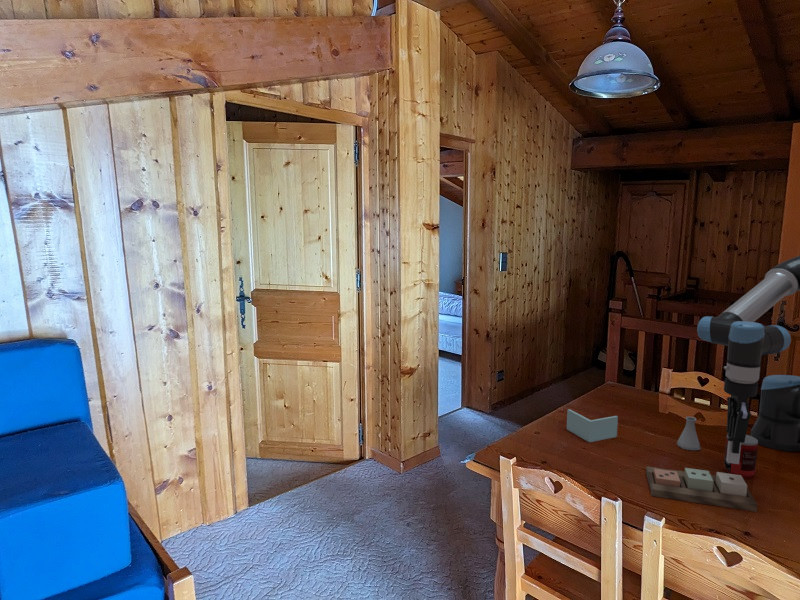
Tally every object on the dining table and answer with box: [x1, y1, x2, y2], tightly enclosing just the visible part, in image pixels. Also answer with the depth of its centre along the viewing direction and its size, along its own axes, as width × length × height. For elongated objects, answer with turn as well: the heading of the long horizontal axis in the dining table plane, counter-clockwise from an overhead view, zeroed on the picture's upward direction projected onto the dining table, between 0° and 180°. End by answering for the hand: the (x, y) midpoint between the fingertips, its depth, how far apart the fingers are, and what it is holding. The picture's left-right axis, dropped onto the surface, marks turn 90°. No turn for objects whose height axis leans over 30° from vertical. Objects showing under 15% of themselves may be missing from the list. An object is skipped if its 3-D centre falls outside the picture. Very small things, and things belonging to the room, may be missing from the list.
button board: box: [645, 465, 758, 513], centre depth 147 cm, size 25×14×2 cm, turn 71°
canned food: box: [723, 433, 759, 479], centre depth 156 cm, size 8×8×11 cm
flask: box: [676, 416, 701, 451], centre depth 174 cm, size 7×7×10 cm
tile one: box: [715, 471, 748, 497], centre depth 144 cm, size 6×6×3 cm
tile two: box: [684, 467, 713, 492], centre depth 146 cm, size 6×6×3 cm
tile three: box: [653, 467, 680, 487], centre depth 149 cm, size 6×6×3 cm
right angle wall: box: [566, 409, 619, 443], centre depth 186 cm, size 12×12×8 cm
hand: (732, 462), depth 143 cm, fingers closed
